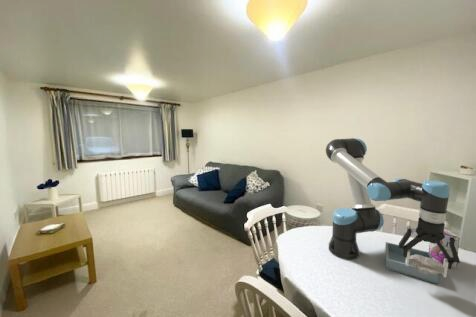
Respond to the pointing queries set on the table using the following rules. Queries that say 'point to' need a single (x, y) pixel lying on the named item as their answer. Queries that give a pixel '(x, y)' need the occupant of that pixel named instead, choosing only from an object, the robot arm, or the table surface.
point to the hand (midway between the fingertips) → (424, 269)
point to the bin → (397, 263)
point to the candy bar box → (437, 251)
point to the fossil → (426, 264)
